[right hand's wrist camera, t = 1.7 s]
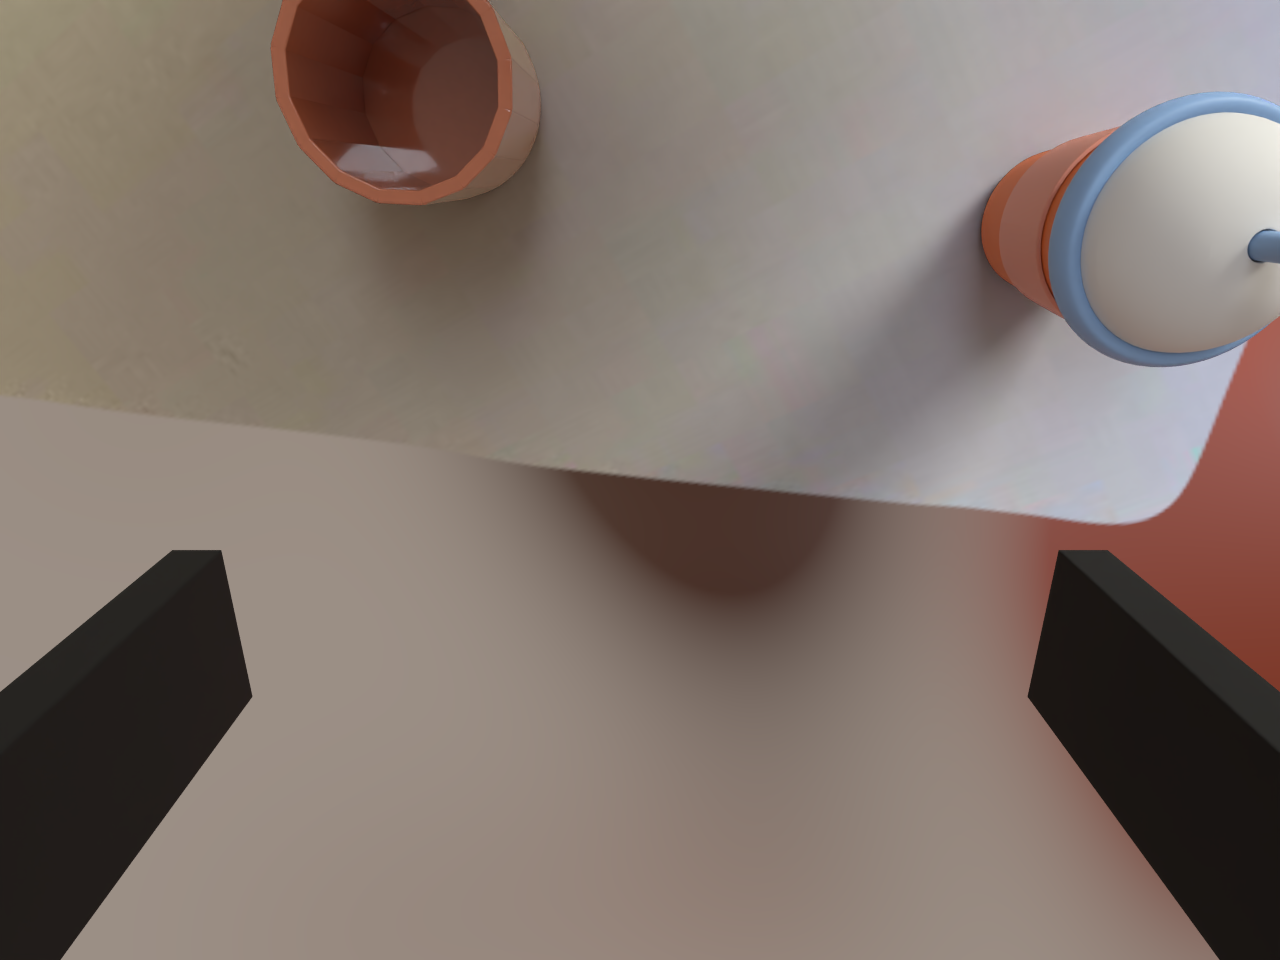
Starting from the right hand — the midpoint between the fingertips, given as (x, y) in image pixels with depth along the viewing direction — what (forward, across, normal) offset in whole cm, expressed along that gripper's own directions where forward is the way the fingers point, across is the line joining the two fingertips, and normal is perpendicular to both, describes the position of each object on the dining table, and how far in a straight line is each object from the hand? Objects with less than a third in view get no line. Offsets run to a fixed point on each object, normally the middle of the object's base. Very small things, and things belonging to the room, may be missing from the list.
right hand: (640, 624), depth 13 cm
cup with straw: (+28, +19, +4) cm, 34 cm away
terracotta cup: (+28, -8, +10) cm, 31 cm away
